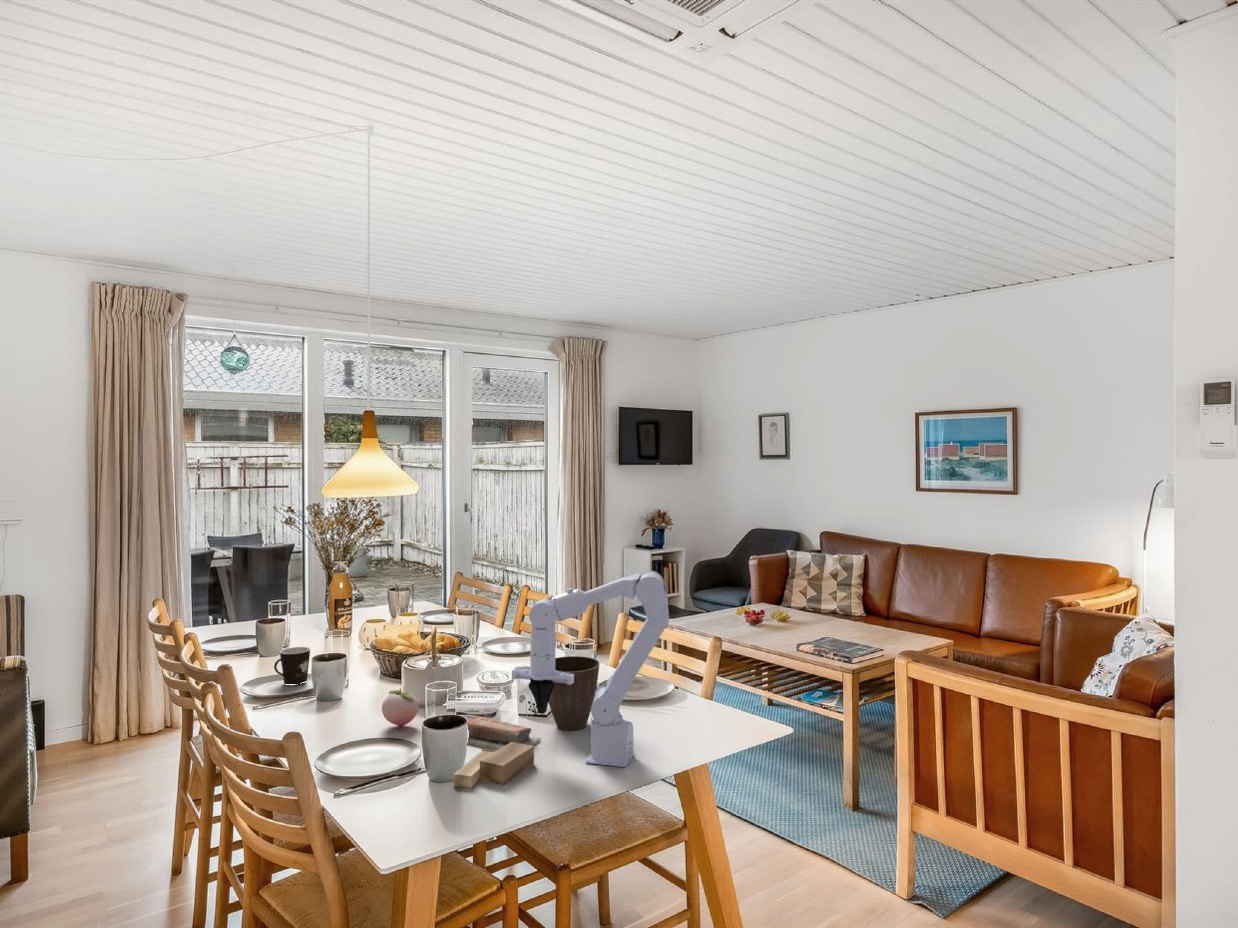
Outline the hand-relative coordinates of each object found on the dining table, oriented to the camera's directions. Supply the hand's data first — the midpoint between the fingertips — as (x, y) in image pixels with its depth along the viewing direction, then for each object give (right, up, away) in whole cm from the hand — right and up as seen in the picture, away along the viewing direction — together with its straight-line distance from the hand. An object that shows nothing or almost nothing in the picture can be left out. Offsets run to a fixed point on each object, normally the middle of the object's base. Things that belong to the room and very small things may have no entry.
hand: (542, 712), depth 176 cm
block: (-7, -11, -8) cm, 15 cm away
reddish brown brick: (-11, -11, +10) cm, 19 cm away
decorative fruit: (-38, -11, +20) cm, 45 cm away
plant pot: (+5, -10, +21) cm, 24 cm away
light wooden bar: (-13, -11, -8) cm, 19 cm away
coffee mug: (-83, -11, +59) cm, 102 cm away
